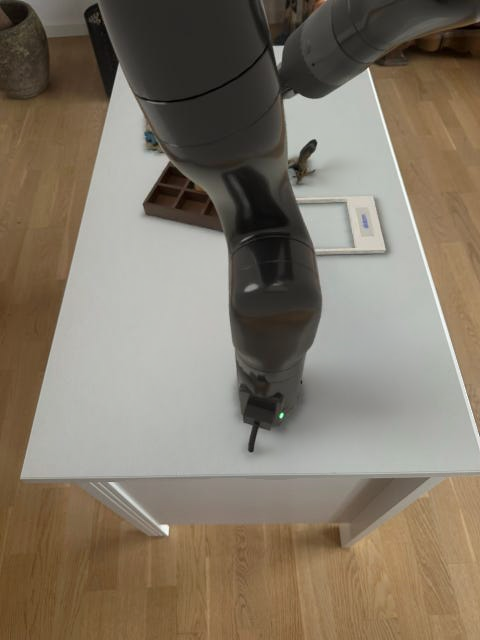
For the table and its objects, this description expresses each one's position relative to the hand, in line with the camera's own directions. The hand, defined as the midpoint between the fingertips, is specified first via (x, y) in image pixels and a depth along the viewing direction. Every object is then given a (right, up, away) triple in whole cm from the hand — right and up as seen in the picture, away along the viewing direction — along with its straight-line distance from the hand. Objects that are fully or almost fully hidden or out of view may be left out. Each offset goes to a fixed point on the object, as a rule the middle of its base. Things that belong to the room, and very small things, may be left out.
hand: (263, 101), depth 61 cm
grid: (-11, -3, +33) cm, 35 cm away
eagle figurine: (+10, +2, +36) cm, 37 cm away
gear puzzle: (-11, +16, +46) cm, 50 cm away
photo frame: (+15, -12, +27) cm, 33 cm away
